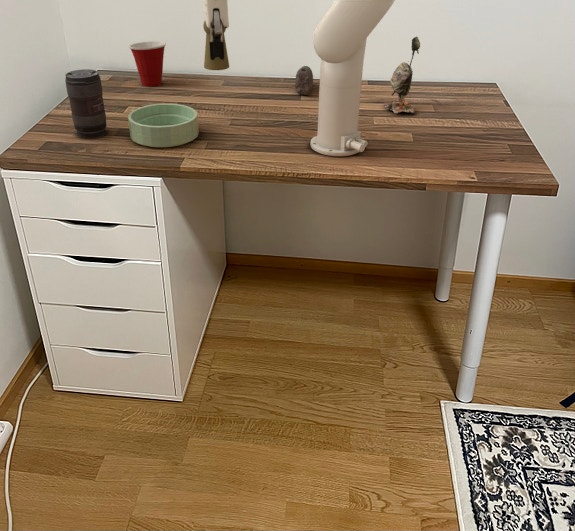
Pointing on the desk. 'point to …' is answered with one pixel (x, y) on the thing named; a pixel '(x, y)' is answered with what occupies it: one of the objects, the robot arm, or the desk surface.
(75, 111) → the camera lens
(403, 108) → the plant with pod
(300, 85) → the perforated stone tool
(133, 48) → the plastic cup
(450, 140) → the desk surface
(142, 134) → the bowl
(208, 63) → the tan pawn
